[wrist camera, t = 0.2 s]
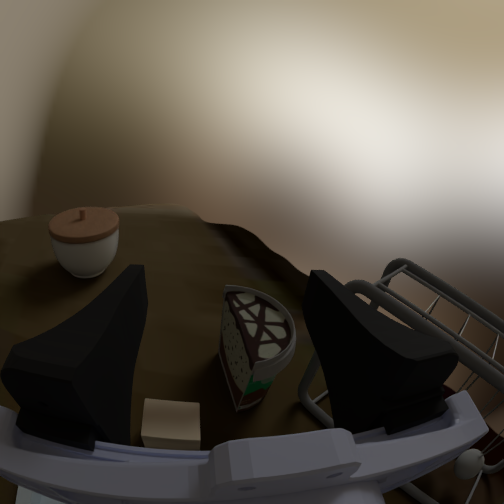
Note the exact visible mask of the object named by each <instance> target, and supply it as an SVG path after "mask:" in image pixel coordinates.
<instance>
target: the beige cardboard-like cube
mask: <svg viewBox="0 0 504 504" xmlns="http://www.w3.org/2000/svg"><path fill="white" fill-rule="evenodd" d="M141 437H142V440H143V443H144V446H145V448H153V449H166V450H185V451H200V441H201V440H200V406H199V403H193V402H178V401H166V400H156V399H147V398H145V403H144V412H143V421H142V431H141Z"/></svg>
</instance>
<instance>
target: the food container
mask: <svg viewBox="0 0 504 504" xmlns="http://www.w3.org/2000/svg"><path fill="white" fill-rule="evenodd" d="M222 298H224V301H223V310H222V320H221V329H220V339H219V349H218V353H219V357H220V360H221V364H222V367H223V370H224V374H225V377H226V380H227V384H228V387H229V390H230V393H231V396H232V399H233V403H234V406H235V409H236V412H242V411H246V410H248V409H250V408H252V407H254V406H256V405H258V403H259V402H260V401H261V400H262V399H263V398H264V397H265V395H266V393H267V391H268V389H269V387H270V386H271V384H272V382H273V380H274V378H275V376H276V374H277V373H279V372H280V371H281V370H283V369H284V368H285V367H286V366H287V365H288V363H289V362H290V361H291V359H292V357H293V355H294V351H295V343H296V331H295V326H294V322H293V319H292V317H291V315H290V314H289V312H288V311H287V309H286V308H285V307H284V306H283V305H282V304H280V303H279V302H278V301H277V300H275V299H274V298H272V297H271V296H269V295H267V294H265V293H262V292H260V291H257V290H254V289H251V288H247V287H242V286H233V285H225V289H224V292H223V296H222Z"/></svg>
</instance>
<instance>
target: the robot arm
mask: <svg viewBox="0 0 504 504" xmlns="http://www.w3.org/2000/svg"><path fill="white" fill-rule="evenodd" d="M147 307H148V299H147V290H146V281H145V271H144V265H131V264H130V265H129V266H128V267H127V268H126V269H125V270H124V271H123V272H122V273H121V274H120V275H119V276H118V277H117V278H116V279H115V280H114V281H113V282H112V283H111V284H110V285H109V286H108V287H107V288H106V289H105V290H104V291H103V292H102V293H101V294H99V295H98V296H97V297H96V298H95V299H94V300H93V301H92V302H91V303H89V304H88V305H87V306H86V307H84V308H83V309H82V310H80V311H79V312H78V313H76V314H75V315H73V316H72V317H70V318H69V319H67V320H65V321H64V322H62V323H61V324H59V325H57V326H56V327H54V328H52V329H50V330H48V331H46V332H44V333H42V334H40V335H38V336H36V337H34V338H31V339H29V340H26V341H24V342H21V343H18V344H16V345H13V347H12V349H11V351H10V353H9V355H8V357H7V359H6V361H5V363H4V365H3V368H2V370H1V373H0V376H1V380H2V383H3V384H4V386H5V388H6V389H7V390H8V392H9V393H10V394H11V396H12V397H13V398H14V400H15V401H16V402H17V403H18V405H19V406H20V407H21V408H20V411H19V414H17V413H16V412H14V411H13V410H11V409H8V408H6V407H3V406H0V475H1V476H2V477H4V478H5V479H7V480H8V481H10V482H12V483H14V484H17V485H19V486H21V487H24V488H26V489H28V490H31V491H33V492H36V493H38V494H41V495H43V496H46V497H49V498H51V499H54V500H57V501H60V502H63V503H66V504H385V501H384V498H383V496H382V494H383V493H385V492H388V491H390V490H393V489H395V488H397V487H400V486H402V485H404V484H406V483H408V482H410V481H413V480H415V479H417V478H419V477H421V476H423V475H425V474H427V473H429V472H431V471H433V470H435V469H436V468H438V467H440V466H442V465H444V464H446V463H448V462H449V461H451V460H453V459H455V458H456V457H458V456H459V455H460V454H462V453H463V452H464V451H466V450H467V449H468V448H469V447H471V446H472V445H473V444H474V443H476V442H477V441H478V440H479V439H480V438H482V437H483V436H484V435H485V434H486V433H487V432H488V431H489V429H488V427H487V425H486V423H485V421H484V420H483V418H482V416H481V415H480V413H479V411H478V409H477V407H476V406H475V404H474V403H473V401H472V400H471V397H470V396H469V394H468V392H467V391H466V390H464V391H462V392H459V393H457V394H454V395H452V396H450V397H448V398H447V399H446V400H444V398H443V397H442V395H443V394H444V393H445V390H444V389H443V387H442V385H443V383H444V382H445V381H446V379H447V378H448V377H449V376H450V375H451V373H452V372H453V370H454V369H455V368H456V366H457V363H458V360H459V355H458V354H457V352H456V351H455V349H454V348H453V346H452V345H451V344H450V342H448V341H444V340H441V339H437V338H434V337H431V336H428V335H425V334H423V333H420V332H417V331H415V330H413V329H410V328H408V327H406V326H404V325H402V324H400V323H398V322H396V321H394V320H392V319H390V318H389V317H387V316H385V315H384V314H382V313H380V312H379V311H377V310H376V309H374V308H373V307H371V306H370V305H368V304H367V303H366V302H364V301H363V300H362V299H360V298H359V297H358V296H356V295H355V294H354V293H352V292H351V291H350V290H349V289H347V288H346V287H345V286H344V285H342V284H341V283H340V282H339V281H337V280H336V279H335V278H334V277H332V276H331V275H330V274H328V273H327V272H326V271H324V270H311V272H310V276H309V280H308V284H307V288H306V291H305V295H304V299H303V302H302V310H303V315H304V319H305V323H306V326H307V329H308V332H309V334H310V337H311V339H312V342H313V345H314V347H315V350H316V352H317V355H318V357H319V360H320V363H321V366H322V369H323V372H324V376H325V380H326V384H327V389H328V393H329V398H330V403H331V409H332V415H333V422H334V429H324V430H318V431H312V432H305V433H298V434H290V435H281V436H271V437H259V438H246V439H239V440H231V441H227V442H225V443H222V444H219V445H216V446H215V447H214V448H213V449H212V450H211V451H185V450H166V449H153V448H142V447H134V446H130V412H131V395H132V383H133V374H134V368H135V363H136V358H137V354H138V350H139V346H140V342H141V338H142V334H143V330H144V327H145V322H146V315H147Z"/></svg>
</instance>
